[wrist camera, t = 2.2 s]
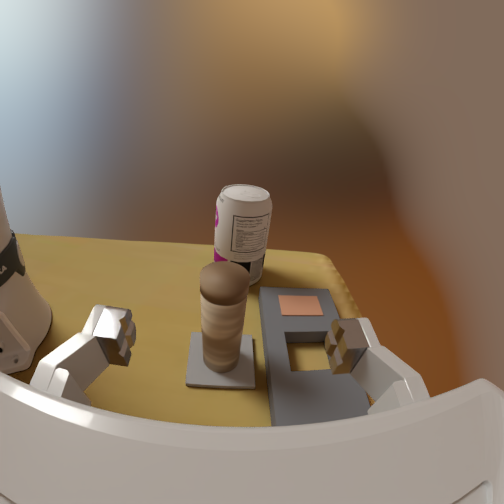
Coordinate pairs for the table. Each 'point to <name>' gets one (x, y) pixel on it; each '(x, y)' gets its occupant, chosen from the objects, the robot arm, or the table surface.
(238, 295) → the maple peg
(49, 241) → the table surface
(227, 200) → the supplement can
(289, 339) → the socket board
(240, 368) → the pad
